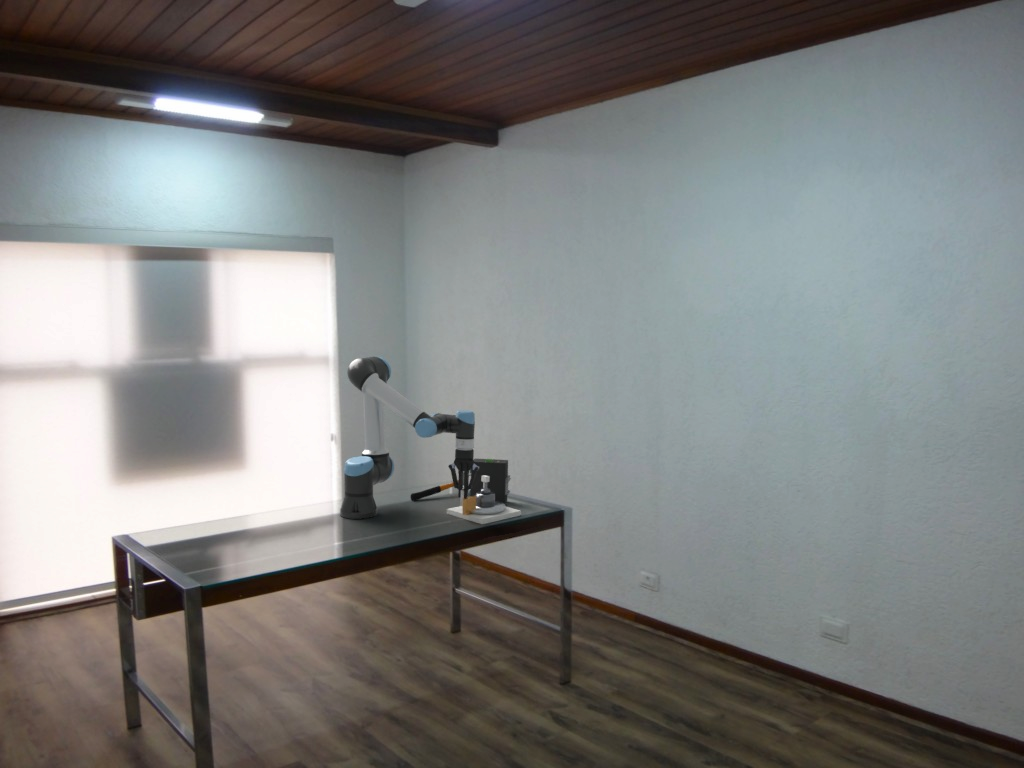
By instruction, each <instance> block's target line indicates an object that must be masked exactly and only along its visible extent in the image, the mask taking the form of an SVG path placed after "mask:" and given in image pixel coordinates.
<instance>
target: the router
mask: <svg viewBox="0 0 1024 768" xmlns="http://www.w3.org/2000/svg"><path fill="white" fill-rule="evenodd" d="M473 460H474V464H475V465H476V466H479V467H480V468H479V470H478V471H477V473H476V477H475V480H474V484H473V487H472V488H471V489H469V492H468V497H471V496H476V493H477V492H481V489H483V482H482V481H481V476H483V475H486V476H490V478H489V482H487V489H490V492H493V493H495V501H498V502H501V503H504V504H505V505H506V504H507V503H508V495H509V494H510V493H511V490H509V482H510V480H512V479H511V475H510V474H509V459H493V458H473ZM472 472H473V467H472V468H471V469H470V470H469V477H471V476H472Z"/></svg>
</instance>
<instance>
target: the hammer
mask: <svg viewBox="0 0 1024 768" xmlns="http://www.w3.org/2000/svg"><path fill="white" fill-rule="evenodd" d="M468 486H469V484H468ZM463 487H464V471H463ZM450 488H454V484H453V482H451V483H445V484H443V485H437V486H434V487H431V488H428V489H425V490H421V491H417V492H412V493H410V500H411V501H412V502H415V501H418V500H421V499H424V498H426V497H429V496H433V495H435V494H439V493H441V492H443V491H446V490H448V489H450ZM468 492H470V489H469V490H468Z"/></svg>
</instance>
